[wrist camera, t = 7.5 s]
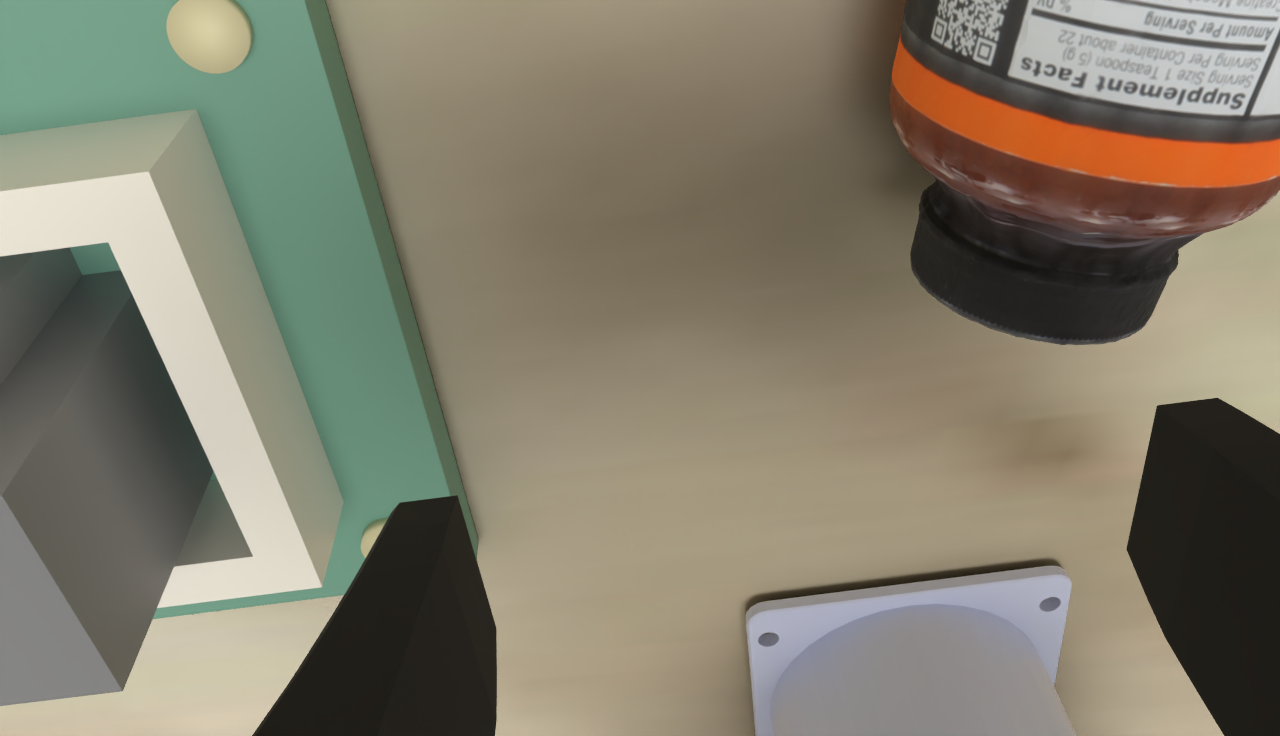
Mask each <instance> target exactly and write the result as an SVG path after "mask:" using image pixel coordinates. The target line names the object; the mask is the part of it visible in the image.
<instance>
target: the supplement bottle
mask: <svg viewBox="0 0 1280 736" xmlns="http://www.w3.org/2000/svg"><path fill="white" fill-rule="evenodd" d="M889 107H890V113H891V118H892V121H893V125H894V127H895V128H896V131H897V133H898V135H899V138H900V139H901V141H902V143H903V144H904V146H905V148H906V149H907V151H908V152H909V153H910V155H911V156H912V157H913V158H914V159H915V160H916V161H917V162H918V163H919V164H920V165H921V166H923V167H924V168H925V169H926V170H927V171H928V172H930V173H931V174H933V176H934V177H935V178H936V182H935V183H934V184H932V185H931V186H930V187H928V188H927V189H926V190H924V192H923V194H922V196H921V201H920V204H919V211H920V214H919V220H918V224H917V228H916V232H915V237H914V241H913V244H912V248H911V266H912V271H913V273H914V275H915V276H916V278H917V279H918V281H919V283H920V285H921V286H922V287H924V288H925V289H926V290H927V292H929V293H930V294H931V295H932V296H933V297H935V298H936V299H937V300H938V301H940V302H941V303H942V304H944V305H945V306H947V307H948V308H950V309H951V310H952V311H954V312H956V313H958V314H959V315H961V316H963V317H965V318H967V319H969V320H971V321H975V322H978V323H980V324H982V325H984V326H986V327H988V328H990V329H993V330H997V331H1000V332H1003V333H1007V334H1010V335H1013V336H1016V337H1023V338H1027V339H1030V340H1036V341H1042V342H1048V343H1054V344H1060V345H1066V344H1072V345H1088V344H1104V343H1108V342H1116V341H1118V340H1121V339H1123V338H1126V337H1129V336H1131V335H1132V334H1134V333H1136V332H1137V331H1139V330H1140V329H1141V328H1143V327H1144V326H1145V324H1146V323H1147V321H1148V320H1149V318H1150V317H1151V315H1152V313H1153V311H1154V308H1155V306H1156V304H1157V302H1158V300H1159V298H1160V295H1161V293H1162V291H1163V289H1164V287H1165V285H1166V282H1167V279H1168V277H1169V275H1170V274H1171V273H1172V272H1173V271H1174V270H1175V269H1176V267H1177V265H1178V256H1179V254H1178V249H1180V248H1181V247H1183V246H1184V245H1186V244H1187V243H1189V242H1190V241H1192V240H1193V239H1195V238H1197V237H1198V236H1200V235H1202V234H1203V233H1206V232H1209V231H1213V230H1216V229H1219V228H1223V227H1226V226H1229V225H1232V224H1233V223H1235V222H1237V221H1240V220H1243V219H1244V218H1246V217H1248V216H1250V215H1251V214H1253V213H1254V212H1256V211H1257V210H1259V209H1260V208H1261V207H1262V206H1263V205H1265V204H1267V203H1268V202H1269V201H1270V200H1271V199H1272V198H1273V197H1274V196H1275V195H1276V194H1277V193H1278V191H1279V190H1280V0H907V3H906V5H905V11H904V19H903V24H902V29H901V33H900V38H899V42H898V47H897V51H896V56H895V60H894V65H893V69H892V78H891V88H890V104H889Z"/></svg>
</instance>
